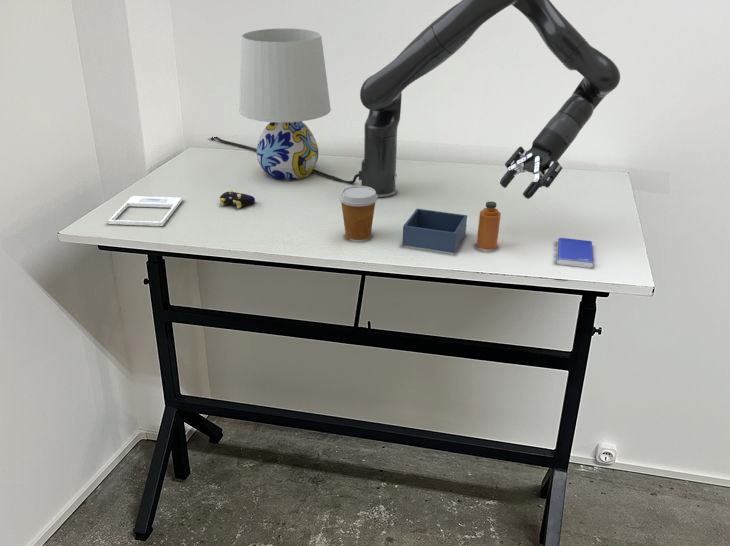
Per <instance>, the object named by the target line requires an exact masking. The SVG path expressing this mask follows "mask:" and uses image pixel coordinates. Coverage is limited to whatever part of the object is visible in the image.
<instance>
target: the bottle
mask: <svg viewBox="0 0 730 546" xmlns="http://www.w3.org/2000/svg"><path fill="white" fill-rule="evenodd" d="M500 222H501V212H500V211H499V209H498V208H497V202H496V201H486V202H485V207H484V208H483V209H482V210H480V211H479V215H478V225H477V226H478V227H477V237H476V247H477V248H479V249H480V250H489V251H490V250H494V249H496V248H497V247H498V242H499V241H498V240H499V231H500V225H501V223H500Z"/></svg>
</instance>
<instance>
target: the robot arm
mask: <svg viewBox="0 0 730 546" xmlns="http://www.w3.org/2000/svg"><path fill="white" fill-rule="evenodd" d="M510 6H512V7H514V8H515V9H517V10H518V11H519V12H520V13H521V14H522V15H523V16H525V18H527V20H528V21H529V23H531V25H532V26H533V27H534V29H535V31H536V32H537V33H538V35H539V36H540V38H541V40H542V42H543V43H544V44H545V45H546V47H547V48H548V49H549V51H550V52H551V53H552V54H553V55H554V56H555V57H556V58H557V60H558V61H560V63H561V64H562V65H563V66H564V67H565V68H566V69H567V70H569V71H575V72H578V74H580V75H581V76H582V77H583V78H582V79H581V81H580V82H579V84H578V85H577V86H576V88H575V89H574V91H573V92H572V94H571V95H570V97H569V98H568V99H567V100H566V101H565V102H564V103H563V105H562V106H561V107H560V108H559V109H558V111H557V112H556V113H555V114H554V115H553V116H552V117H551V118H550V119H549V121H547V123H546V124H545V126H544V127H543V128H542V129H541V130H540V132H539V133H538V134H537V136H536V137H535V138H534V139H533V141H532V144H531V148H529V149H528V150H526V149H525V148H524V147H523V146H518V148H517V149H516V150H515V151H514V152H513V153H512V154H511V156H510V157H509V158H508V159H507V161H505V163H504V166H505V168H506V169H507V171H506V172H505V173H504V174H503V176H502V177H501V179H500V181H499V185H500V186H501V187H502V188H504V189H506V188H507V187H508V186H509V185H510V183H511V182H512V181H513V179H514V178H515V176H516V175H519V174H521V173H522V174H523V173H527V172H528V173H532V174H533V175H534V177H533V181H531V182H530V183H529V185H528V186H527V187H526V189H525V190H524V191H523V192H522V196H523V197H524V198H525V199H527V200H529V199H531V198H533V196H534V195H535V194H536V192H537V191H538V190H539V189H540V188H543V187H545V189H547V188H549V187H551V185H552V184H553V182H554V181H555V179H556V178H557V177H558V176H559V174H560V173H561V172H562V170H563V166H562V165H561V163H559V160H560V158H561V157H562V156H563V155H564V153H565V152H566V151H567V150H568V149H569V147H570V146H571V145H572V143H574V141H575V139H576V138H577V137H578V135H579V133H580V132H581V130H582V129H583V128H584V126H585V125H586V124H587V122H589V120H591V118H592V116H593V114H594V111H595V110H596V109H597V107H598V106H599V104H600V103H601V102H602V101H603V100H604V98H605V97H606V96H607V95H609V94H610V93H611V92H613V91H614V90H615V89H616V88H617V87H619V86H618V85H620V82H621V72H620V70H619V69H620V68H618V66H617V64H616V63H615V62H614V61H613V60H612V59H611V58H609V57H608V56H606V54H604V53H602V52H601V51H600V50H598V49H596V48H595V47H593V46H592V45H591V44H590V43H589V42H588V41H587V40H586V38H585V37H584V36H582V34H581V33H580V32H579V31H578V30H577V29H576V27H574V26H573V25H572V23H570V22H569V20H567V18H566V17H565V16H564V15H563V14H562V13H561V12H560V11H559V10H558V8H557V7H556V6H555V5H554V4H553V2H552V1H551V0H460V1H459V2H457V3H456V4H455V5H453V6H452V7H451V8H449V9H447V10H446V11H445V12H443V13H442V14H441V15H439V17H437V18H436V19H435V20H434V21H432V22H431V23H430V24H429V25H428V26H427V27H426V28H424V29H423V30H422V31H421V32H420V33H419V34H418V35H417V36H416V37H415V38H413V40H412V41H411V42H410V43H408V44H407V46H405V48H403V50H402V51H401V52H400V53H399V54H398V55H397V56H396V57H395V58H394V59H393V60H392V61H390V62H389V63H388V64H387V65H385V66H384V67H383V68H381V69H379V70H378V71H377V72H375V73H374V74H373V75H370V76H369V77H367V78H366V79H365V80H364V81H363V82H362V85H361V87H360V90H359V91H360V92H359V98H360V103H361V104H362V106H363V107H364V108H365V109H367V110H368V116H367V118H366V120H365V122H364V128H363V134H364V136H363V153H364V154H363V159H362V160H361V170H359V171H358V173H356V174H355V175H354V176H353V178H352V180H344V179H342V178H339V177H337V176H334V175H332V174H328V173H325V172H322V171H320V170H317V169H315V168H314V169H313V170H312V172H311V173H315V174H317V175H320V176H323V177H325V178H329V179H332V180H334V181H337V182H340V183H344V184H350V185H352V184H355V182H356V181H357V178H358V180H359V181H361V186H367V187H371V188H373V189H374V190H375V191H376V195H377V196H378V197H377V198H386V197H391V196H394V195H395V194H396V191H397V189H396V185H397V184H396V180H397V176H398V174H397V153H398V149H397V148H398V128H399V125H400V120H401V112H402V97H403V96H402V95H403V94H402V92H403V91H404V90H405V89H407V87H409V86H410V85H411V84H412V83H414V82H415V81H417V80H418V79H420V78H422V77H424V76H425V75H427V74H429V73H430V72H432V71H433V70H435V69H436V68H438V67H439V66H440V65H442V64H444V63H445V62H446V61H447V60H448V59H450V58H451V57H452V56H453V55H455V54H456V53H457V52H458V51H459V50H460V49H461V48H462V47H463V46H465V44H467V42H468V41H469V40H470V39H471V37H473V35H474V34H475V33H476V32H477V31H478V29H480V27H481V26H482V25H483V24H485V23H486V22H487V21H489V20H490V19H491V18H493V17H494V16H496V15H497V14H499V13H500V12H502V11H504V10H505V9H506V8H508V7H510ZM213 140H217V141H219V142H220V143H223V144H228V145H231V146H236V147H240V148H243V149H247V150H250V151H254V152H257V147H252V146H249V145H246V144H241V143H237V142H233V141H228V140H225V139H221V138H220V137H218V136H216V137H214V138H213V136H211V138H210V141H213Z"/></svg>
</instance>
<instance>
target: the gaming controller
mask: <svg viewBox="0 0 730 546" xmlns="http://www.w3.org/2000/svg"><path fill="white" fill-rule="evenodd" d="M219 200H220V205H221V206H222V207H223V206H226V204H227V205H233V206H236V209H241V208H243V207H244V206H245V205H246V206H247V205H253V204H254V203H255V201H256V198H255V197H254V196H253V195H250V194H247V193H241V192H236V191H234V190H229V191H225V192H223V193H222V194H221V195H220V197H219Z"/></svg>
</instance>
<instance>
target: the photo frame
mask: <svg viewBox="0 0 730 546" xmlns="http://www.w3.org/2000/svg"><path fill="white" fill-rule="evenodd" d="M182 202H183V197H177V196H175V197H172V196H170V197H169V196H141V195H131V196H130V197H129V198H128V199H127V200H126V202H124V204H122V205H121V206H120V207H119V209H117V210H116V211H115V213H114V214H113V215H111V217H110V218H109V219H108V220H107V223H108V225H121V226H123V225H124V226H125V225H126V226H151V227H153V226H154V227H164V225H165V224H166V222H167V221H168V220H169V218H170V217H171V216H172V215H173V213H174V212H175V211H176V210H177V208H178V207H179V206H180V204H181V203H182ZM128 207H139V208H166V209H167V208H169V210H168V212H167V213H166V214H165V215H164V216H163V218H162V219H161V220H160V221H158V220H157V221H155V220H154V221H153V220H129V219H127V220H126V219H118V217H119V216H120V215H121V214H122V213H123V212H124V211H125V210H126V209H127V208H128Z"/></svg>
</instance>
